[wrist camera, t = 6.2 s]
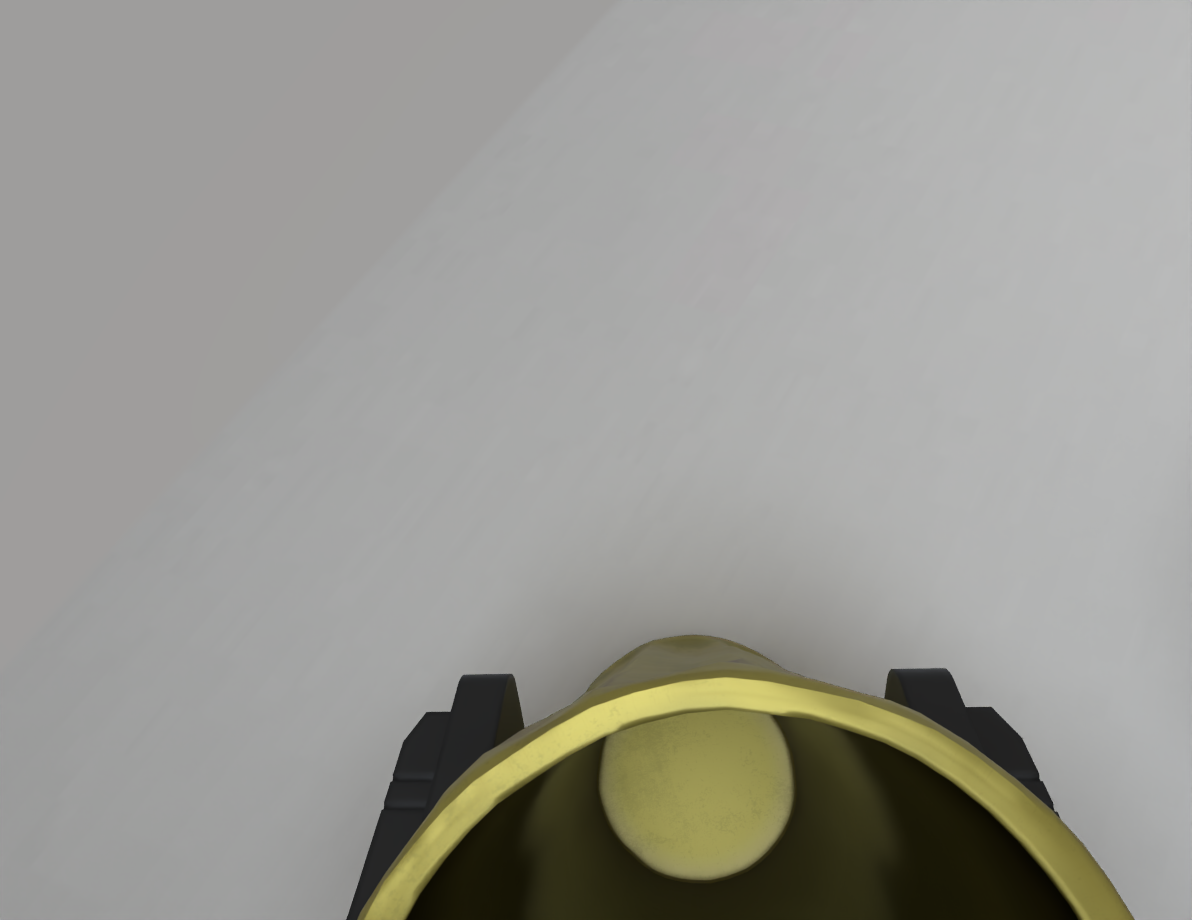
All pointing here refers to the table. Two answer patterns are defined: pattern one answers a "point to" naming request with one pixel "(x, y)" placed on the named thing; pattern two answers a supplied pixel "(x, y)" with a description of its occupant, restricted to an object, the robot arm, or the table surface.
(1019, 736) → the robot arm
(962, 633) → the table surface
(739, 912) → the vase
